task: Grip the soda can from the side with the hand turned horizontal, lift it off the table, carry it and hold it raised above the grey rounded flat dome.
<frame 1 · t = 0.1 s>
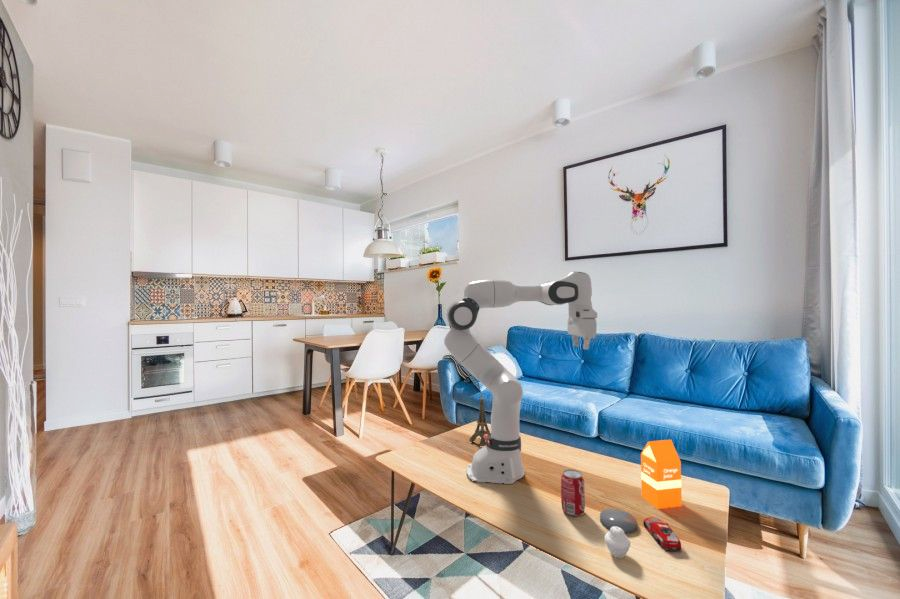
hand: (581, 347, 146), 48 cm above the table, tool pointing down, fingers open, 8 cm apart
grey rounded flat dome: (618, 523, 110), on the table
race car: (661, 538, 103), on the table
orange juice: (661, 501, 122), on the table
soda can: (573, 512, 116), on the table
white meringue: (617, 554, 96), on the table
eiffel tower: (482, 443, 176), on the table
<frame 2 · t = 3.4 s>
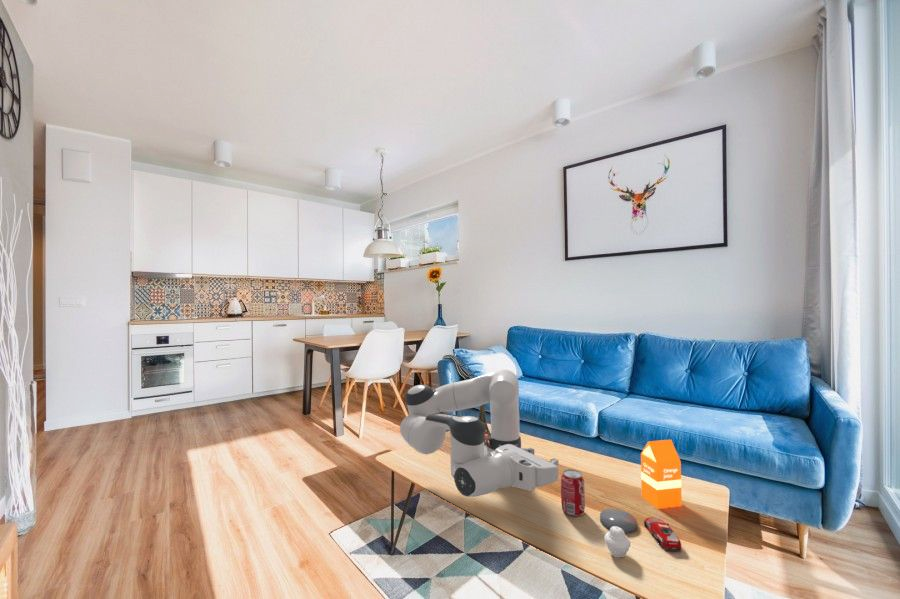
hand: (544, 456, 110), 20 cm above the table, tool horizontal, fingers open, 8 cm apart
nothing on the table moved.
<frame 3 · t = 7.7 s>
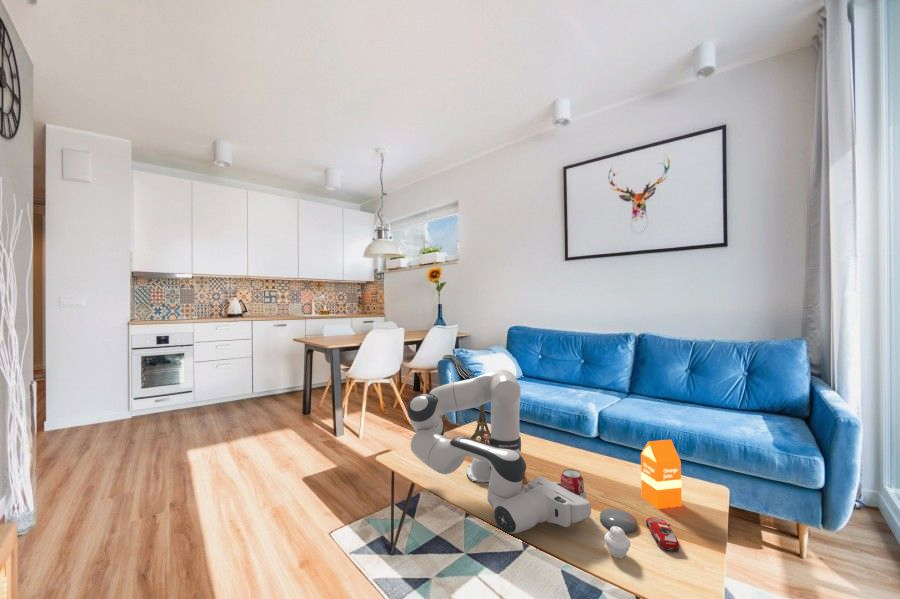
hand: (574, 489, 117), 7 cm above the table, tool horizontal, fingers open, 6 cm apart
soda can: (573, 511, 116), on the table, touching gripper
everything else where it was.
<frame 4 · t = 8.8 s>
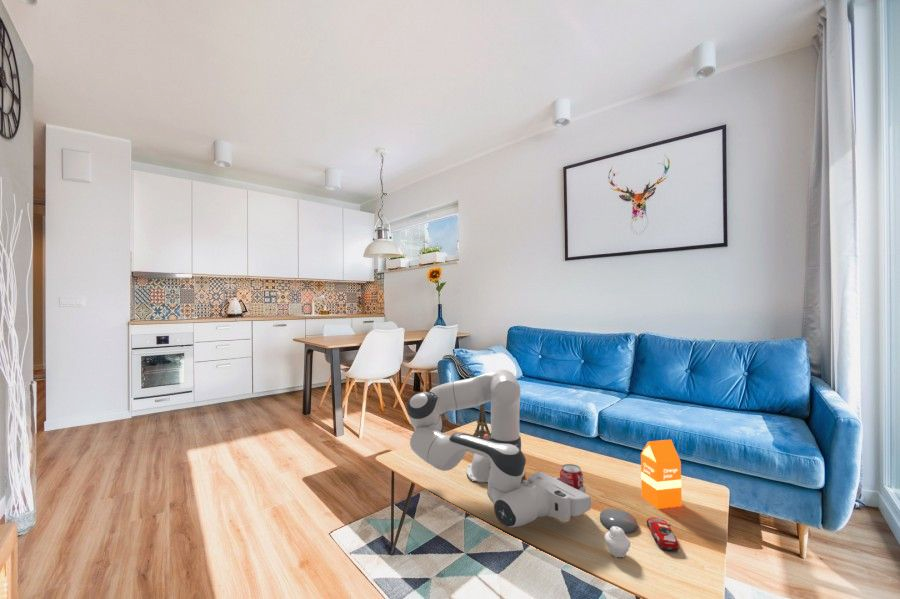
hand: (574, 484, 117), 8 cm above the table, tool horizontal, fingers closed on soda can, 5 cm apart
soda can: (572, 506, 117), point 1 cm above the table, touching gripper
everything else where it was.
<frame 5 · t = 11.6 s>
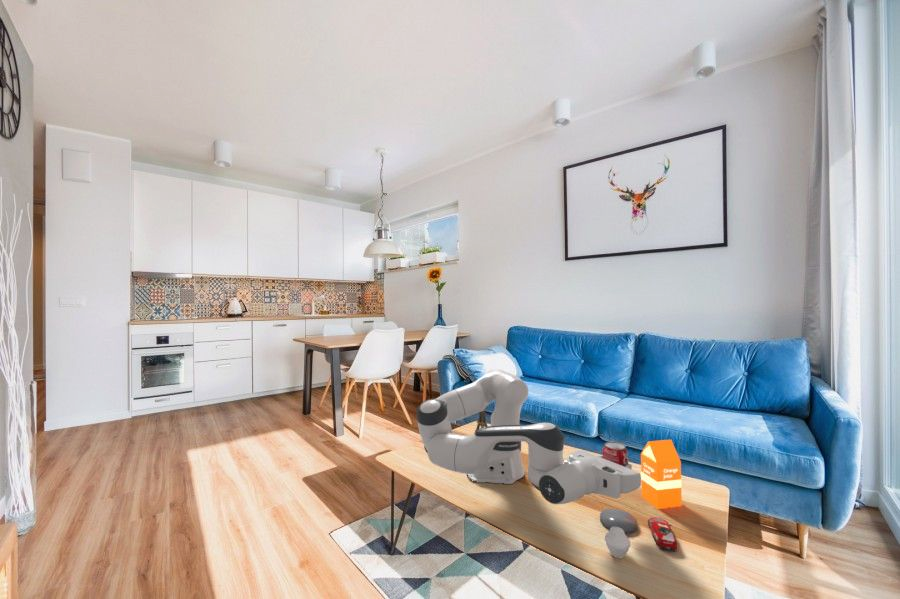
hand: (618, 462, 111), 18 cm above the table, tool horizontal, fingers closed on soda can, 5 cm apart
soda can: (615, 486, 110), point 11 cm above the table, touching gripper
everything else where it was.
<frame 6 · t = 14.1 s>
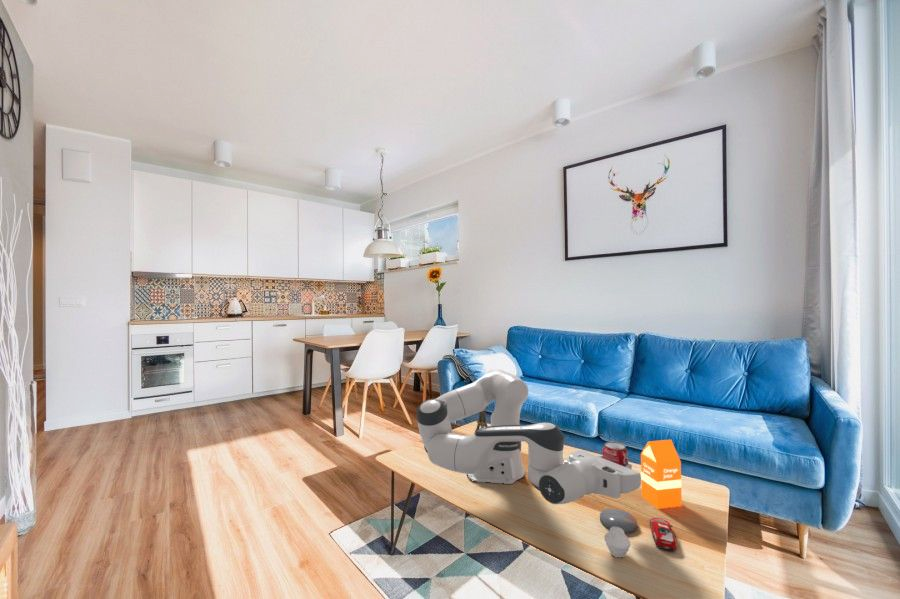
hand: (618, 462, 111), 18 cm above the table, tool horizontal, fingers closed on soda can, 5 cm apart
soda can: (615, 486, 110), point 11 cm above the table, touching gripper
at the end: the gripper is holding soda can; soda can point 10.9 cm above the table; soda can inside the target area (0.5 cm from its centre), point 10.9 cm above the table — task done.
